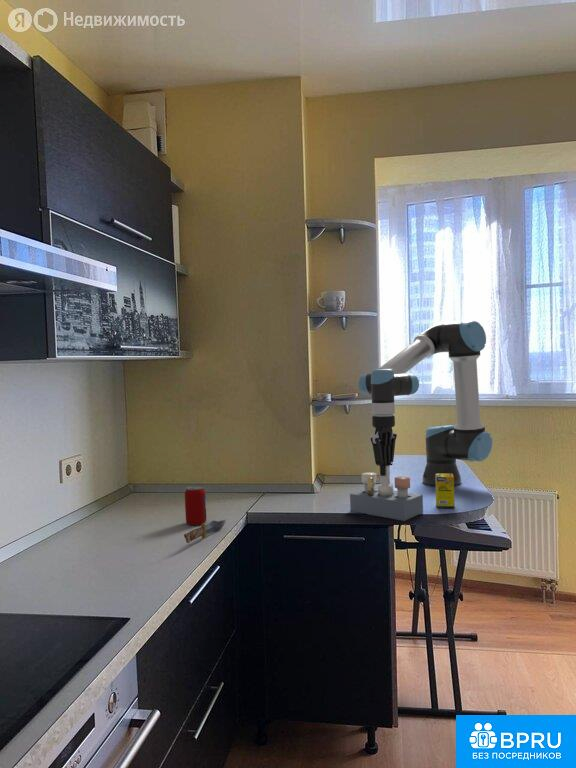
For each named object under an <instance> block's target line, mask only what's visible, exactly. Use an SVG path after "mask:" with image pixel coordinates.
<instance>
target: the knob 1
mask: <svg viewBox="0 0 576 768" xmlns="http://www.w3.org/2000/svg"><path fill="white" fill-rule="evenodd" d="M368 477H373V481H374V485H375V484H377V481H378V480H377V479H378V478H377V472H363V473H361V483H362V485H364V489H365V493H368V481H367V478H368ZM375 488H376V487H374V493H375Z"/></svg>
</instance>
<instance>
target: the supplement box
mask: <svg viewBox="0 0 576 768" xmlns="http://www.w3.org/2000/svg"><path fill="white" fill-rule="evenodd" d="M435 480H436V486H435V504H436V509H456V508H455V485H454V476H453V474H435Z"/></svg>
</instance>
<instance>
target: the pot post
mask: <svg viewBox="0 0 576 768" xmlns="http://www.w3.org/2000/svg"><path fill="white" fill-rule="evenodd" d="M367 481H368V496H374V488H375V484H374V481H373V477H368V478H367Z"/></svg>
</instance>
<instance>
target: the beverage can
mask: <svg viewBox="0 0 576 768" xmlns="http://www.w3.org/2000/svg"><path fill="white" fill-rule="evenodd" d="M184 506H185V507H184V509H185V512H184V513H185V522H186V524H188V525H190V526H201V524H202V523H203V524H205V523H206V522H207V520H208V519H207V499H206V490H205V488H204V486H203V485H190V486H189V485H188V486H186V489H185V491H184Z"/></svg>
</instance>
